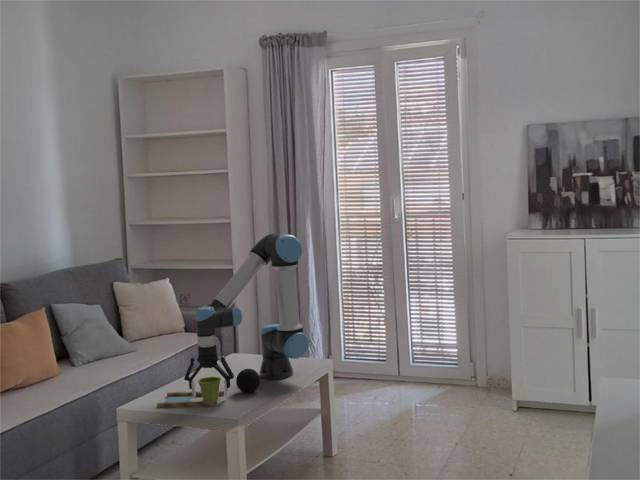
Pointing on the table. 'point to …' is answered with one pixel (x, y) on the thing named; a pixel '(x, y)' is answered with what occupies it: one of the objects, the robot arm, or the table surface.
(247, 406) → the table surface
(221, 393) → the pair of walnut rails
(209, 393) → the plant pot
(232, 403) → the table surface
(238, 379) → the speaker
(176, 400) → the marked pad
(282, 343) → the robot arm
